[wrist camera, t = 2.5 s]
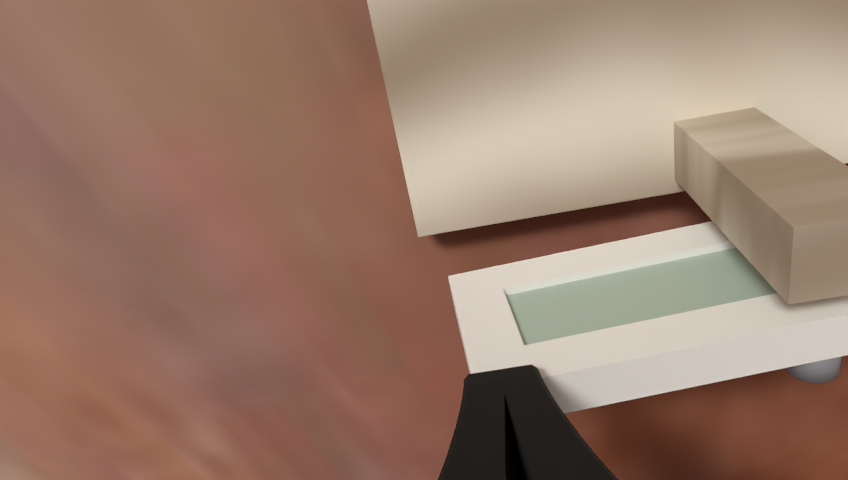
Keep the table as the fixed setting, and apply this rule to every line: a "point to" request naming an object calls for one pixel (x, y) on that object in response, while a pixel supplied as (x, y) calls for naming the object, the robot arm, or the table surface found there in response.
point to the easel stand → (630, 117)
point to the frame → (643, 319)
